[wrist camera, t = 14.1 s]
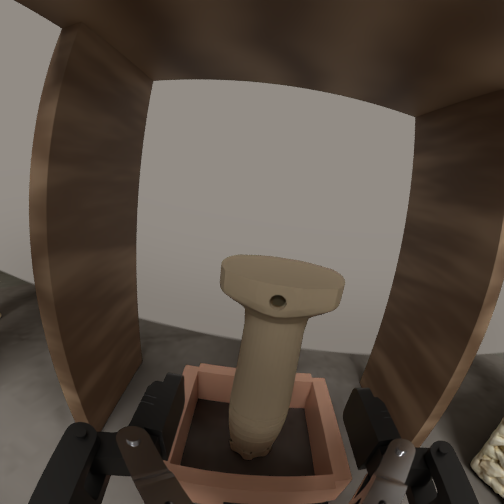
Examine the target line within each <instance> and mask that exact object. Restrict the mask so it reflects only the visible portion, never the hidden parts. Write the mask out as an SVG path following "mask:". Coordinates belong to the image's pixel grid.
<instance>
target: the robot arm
mask: <svg viewBox="0 0 504 504" xmlns="http://www.w3.org/2000/svg"><path fill="white" fill-rule="evenodd" d="M184 404H185V386H184V375H179V374H173V373H167V375H166V377H165V379H164V381H163V382H160V381H155V382H153V383H152V384H151V385H149V386H148V388H147V390H146V392H145V394H144V396H143V398H142V400H141V402H140V404H139V406H138V408H137V410H136V412H135V414H134V416H133V418H132V420H131V422H130V424H129V426H127V427H124V428H122V429H120V430H119V431H118V432H114V433H110V432H97V431H96V430H95V428H94V427H93V426H92V425H90V424H88V423H85V422H76V423H73V424H71V425H70V426H69V427H68V428H67V429H66V431H65V433H64V435H63V436H62V438H61V440H60V442H59V444H58V445H57V447H56V449H55V451H54V453H53V455H52V457H51V458H50V460H49V462H48V464H47V466H46V468H45V470H44V472H43V474H42V476H41V478H40V480H39V482H38V484H37V486H36V488H35V490H34V492H33V494H32V496H31V499H30V501H29V503H28V504H101V503H102V500H103V497H104V494H105V491H106V488H107V485H108V482H109V479H110V476H111V475H117V476H131V477H132V479H133V481H134V483H135V485H136V487H137V489H138V491H139V493H140V495H141V497H142V499H143V501H144V503H145V504H193V502H192V501H191V499H190V498H189V497H188V495H187V494H186V492H185V491H184V489H183V488H182V486H181V485H180V483H179V482H178V480H177V478H176V477H175V475H174V474H173V473H172V472H171V471H169V470H168V468H167V467H166V465H165V463H164V461H163V460H165V461H168V459H169V455H170V452H171V449H172V445H173V442H174V439H175V435H176V432H177V429H178V426H179V422H180V419H181V416H182V413H183V409H184ZM343 421H344V424H345V427H346V431H347V434H348V437H349V440H350V444H351V447H352V450H353V454H354V457H355V460H356V464H357V467H358V470H361V469H367V471H368V473H367V474H366V475H365V477H364V479H363V481H362V482H361V484H360V486H359V488H358V489H357V491H356V493H355V494H354V496H353V498H352V499H351V501H350V502H349V504H401V502H402V500H403V497H404V495H405V492H406V495H407V498H408V502H409V504H479V503H478V500H477V498H476V496H475V493H474V491H473V489H472V486H471V484H470V482H469V480H468V478H467V475H466V473H465V471H464V469H463V467H462V465H461V463H460V461H459V459H458V457H457V455H456V453H455V451H454V449H453V447H452V446H451V445H450V444H449V443H448V442H445V441H436V442H434V443H433V444H432V445H431V447H430V448H418V447H415V446H414V445H413V444H412V443H411V442H410V441H409V440H406V439H402V438H401V436H400V434H399V432H398V430H397V428H396V426H395V424H394V422H393V419H392V418H391V415H390V413H389V412H388V409H387V407H386V405H385V403H384V402H383V401H382V400H380V399H379V398H378V397H374V396H373V394H372V392H371V390H370V388H354V389H353V390H352V393H351V395H350V397H349V400H348V402H347V404H346V406H345V409H344V412H343ZM432 479H433V480H434V483H435V485H436V488H437V492H436V489H435V486H434V484H433V481H432ZM223 504H241V503H230V502H223ZM311 504H328V502H323V503H311Z"/></svg>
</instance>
